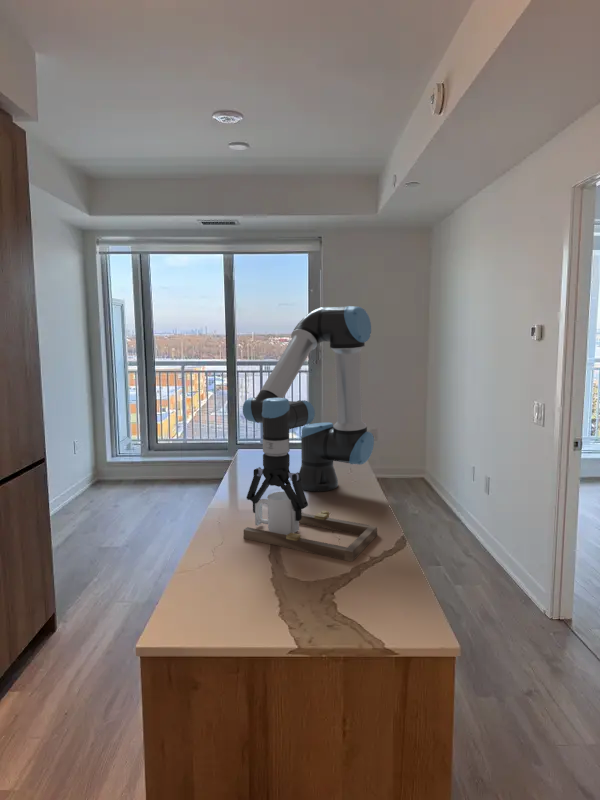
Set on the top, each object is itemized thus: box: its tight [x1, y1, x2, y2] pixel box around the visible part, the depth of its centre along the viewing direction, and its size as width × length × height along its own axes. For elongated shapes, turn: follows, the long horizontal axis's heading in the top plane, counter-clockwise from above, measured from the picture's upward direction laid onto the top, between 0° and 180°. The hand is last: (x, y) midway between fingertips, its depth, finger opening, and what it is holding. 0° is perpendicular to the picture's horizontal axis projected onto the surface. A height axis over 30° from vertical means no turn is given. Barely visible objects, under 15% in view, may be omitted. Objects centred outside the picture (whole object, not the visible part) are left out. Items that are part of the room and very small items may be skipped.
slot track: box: [243, 510, 378, 562], centre depth 146 cm, size 22×32×3 cm
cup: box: [256, 491, 294, 535], centre depth 150 cm, size 8×12×10 cm
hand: (276, 527), depth 150 cm, fingers closed on cup, 11 cm apart
